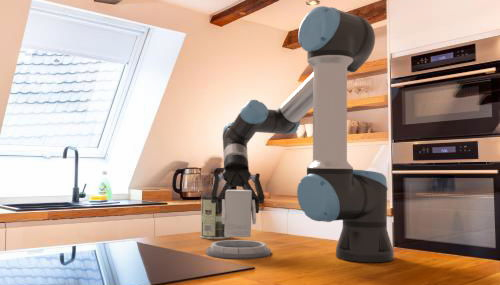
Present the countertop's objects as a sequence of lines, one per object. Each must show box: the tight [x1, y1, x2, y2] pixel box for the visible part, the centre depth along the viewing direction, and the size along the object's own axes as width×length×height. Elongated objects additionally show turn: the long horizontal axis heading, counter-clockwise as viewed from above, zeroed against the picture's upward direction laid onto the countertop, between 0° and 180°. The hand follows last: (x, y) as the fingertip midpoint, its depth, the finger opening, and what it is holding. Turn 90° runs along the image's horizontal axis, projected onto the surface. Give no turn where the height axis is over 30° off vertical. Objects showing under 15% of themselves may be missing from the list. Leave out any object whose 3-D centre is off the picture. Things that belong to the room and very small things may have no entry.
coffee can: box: [200, 194, 231, 240], centre depth 168 cm, size 10×10×14 cm
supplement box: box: [224, 189, 252, 238], centre depth 137 cm, size 7×7×13 cm
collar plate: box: [205, 239, 272, 260], centre depth 137 cm, size 18×18×2 cm
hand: (239, 220), depth 134 cm, fingers closed on supplement box, 8 cm apart
